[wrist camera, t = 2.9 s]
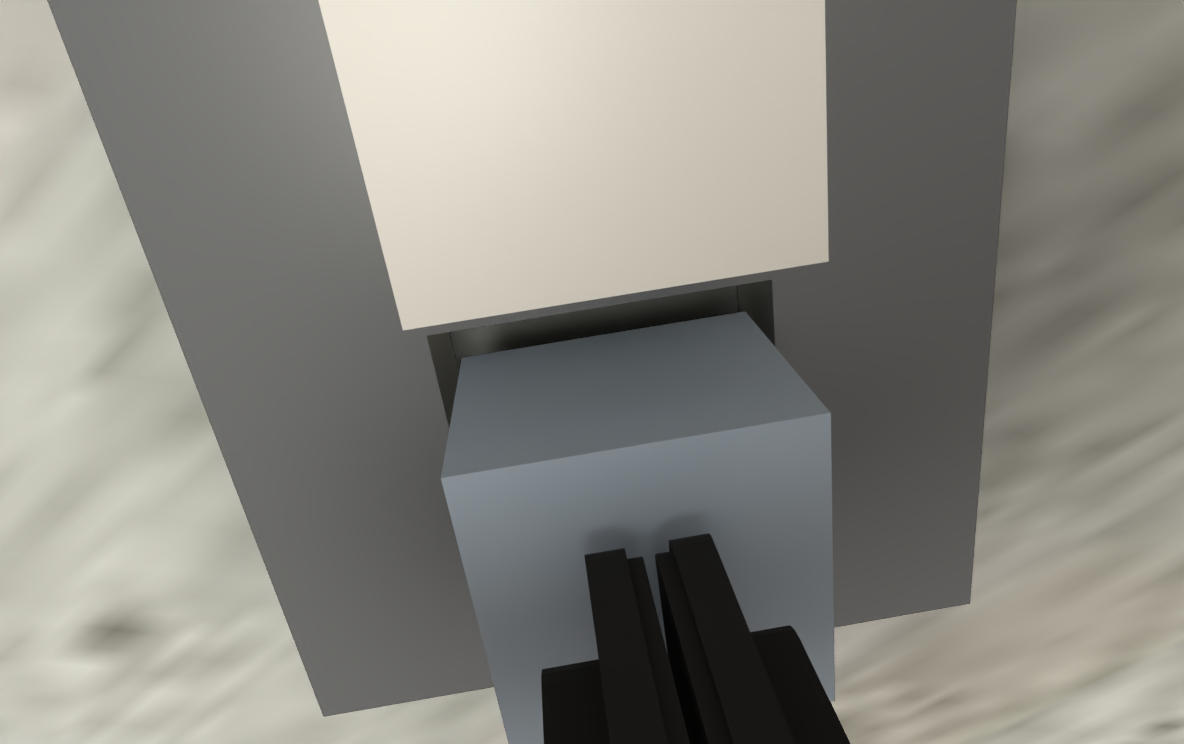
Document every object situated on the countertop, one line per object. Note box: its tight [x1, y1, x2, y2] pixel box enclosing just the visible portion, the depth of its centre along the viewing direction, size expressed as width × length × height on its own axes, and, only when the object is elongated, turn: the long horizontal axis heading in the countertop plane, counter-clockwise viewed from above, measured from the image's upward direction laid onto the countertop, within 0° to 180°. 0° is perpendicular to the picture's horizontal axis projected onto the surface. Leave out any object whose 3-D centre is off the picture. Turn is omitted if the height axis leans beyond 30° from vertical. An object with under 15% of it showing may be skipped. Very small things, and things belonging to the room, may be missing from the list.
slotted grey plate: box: [47, 0, 1017, 717], centre depth 13 cm, size 14×24×2 cm, turn 8°
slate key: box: [441, 312, 835, 744], centre depth 13 cm, size 5×5×4 cm
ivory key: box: [318, 0, 829, 330], centre depth 10 cm, size 5×5×4 cm
